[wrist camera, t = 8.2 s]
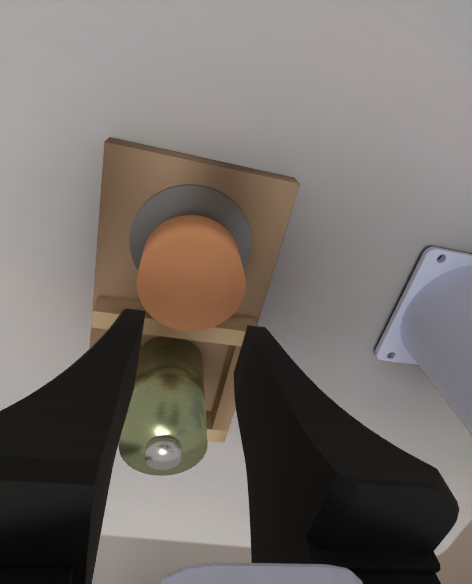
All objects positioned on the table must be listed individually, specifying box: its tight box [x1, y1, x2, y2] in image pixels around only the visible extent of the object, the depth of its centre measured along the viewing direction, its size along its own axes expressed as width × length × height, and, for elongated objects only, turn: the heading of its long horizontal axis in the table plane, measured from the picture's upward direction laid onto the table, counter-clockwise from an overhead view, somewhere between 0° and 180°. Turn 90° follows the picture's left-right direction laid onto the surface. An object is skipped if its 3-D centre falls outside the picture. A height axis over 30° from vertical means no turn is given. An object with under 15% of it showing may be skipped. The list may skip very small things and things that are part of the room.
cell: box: [119, 336, 207, 476], centre depth 21 cm, size 4×4×7 cm
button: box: [136, 215, 246, 331], centre depth 17 cm, size 4×4×2 cm
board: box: [90, 137, 300, 442], centre depth 22 cm, size 9×18×3 cm, turn 167°
